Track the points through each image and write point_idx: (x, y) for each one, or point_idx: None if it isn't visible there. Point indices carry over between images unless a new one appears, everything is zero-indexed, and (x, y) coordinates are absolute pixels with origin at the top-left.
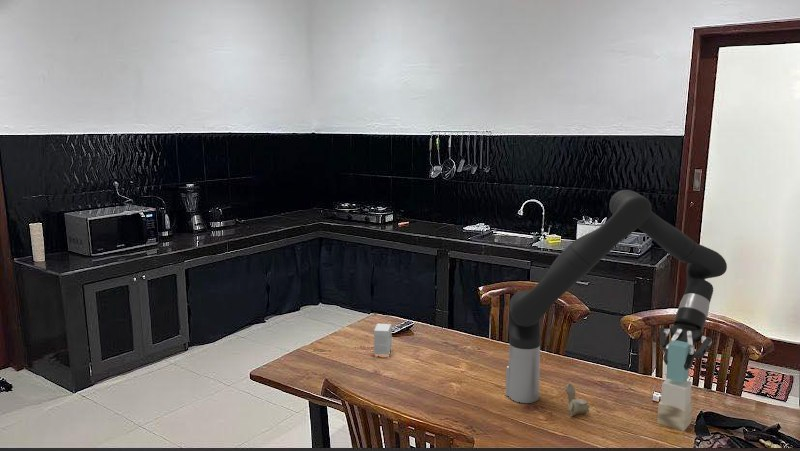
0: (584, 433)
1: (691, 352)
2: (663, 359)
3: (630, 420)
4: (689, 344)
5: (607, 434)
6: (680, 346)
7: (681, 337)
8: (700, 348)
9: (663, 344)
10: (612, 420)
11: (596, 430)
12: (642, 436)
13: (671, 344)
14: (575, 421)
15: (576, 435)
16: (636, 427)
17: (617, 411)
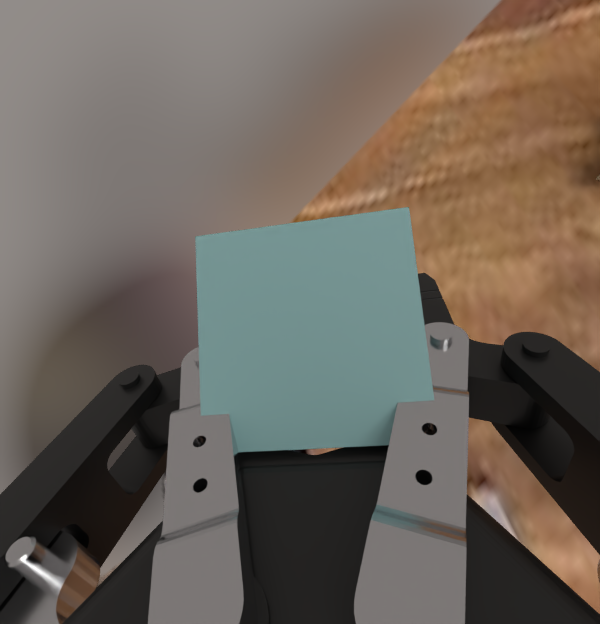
0: (517, 74)
1: (198, 354)
2: (425, 273)
3: (460, 260)
4: (200, 389)
5: (462, 123)
6: (256, 230)
7: (342, 509)
8: (102, 419)
9: (516, 347)
10: (505, 214)
11: (502, 117)
12: (379, 193)
13: (368, 217)
14: (591, 113)
15: (527, 46)
16: (420, 231)
17: (533, 288)
